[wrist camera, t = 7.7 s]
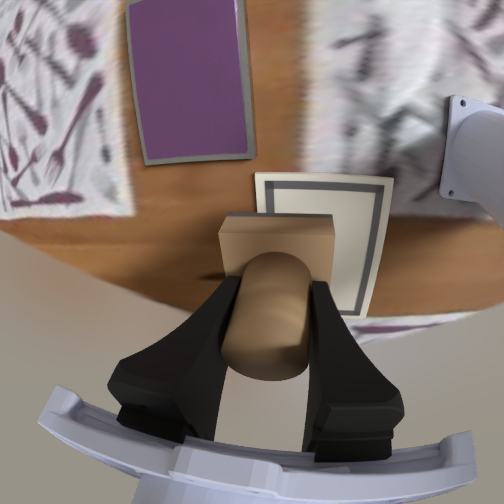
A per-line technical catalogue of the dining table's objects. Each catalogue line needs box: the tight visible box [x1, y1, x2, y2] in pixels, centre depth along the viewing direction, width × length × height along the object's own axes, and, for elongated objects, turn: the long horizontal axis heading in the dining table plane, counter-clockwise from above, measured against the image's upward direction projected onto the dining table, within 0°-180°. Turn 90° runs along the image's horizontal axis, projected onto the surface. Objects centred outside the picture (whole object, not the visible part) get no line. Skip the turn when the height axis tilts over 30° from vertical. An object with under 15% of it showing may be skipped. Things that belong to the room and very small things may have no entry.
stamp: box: [218, 213, 335, 381], centre depth 13 cm, size 5×5×6 cm
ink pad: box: [125, 0, 257, 166], centre depth 16 cm, size 8×13×1 cm, turn 4°
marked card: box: [255, 172, 394, 319], centre depth 23 cm, size 10×14×1 cm
